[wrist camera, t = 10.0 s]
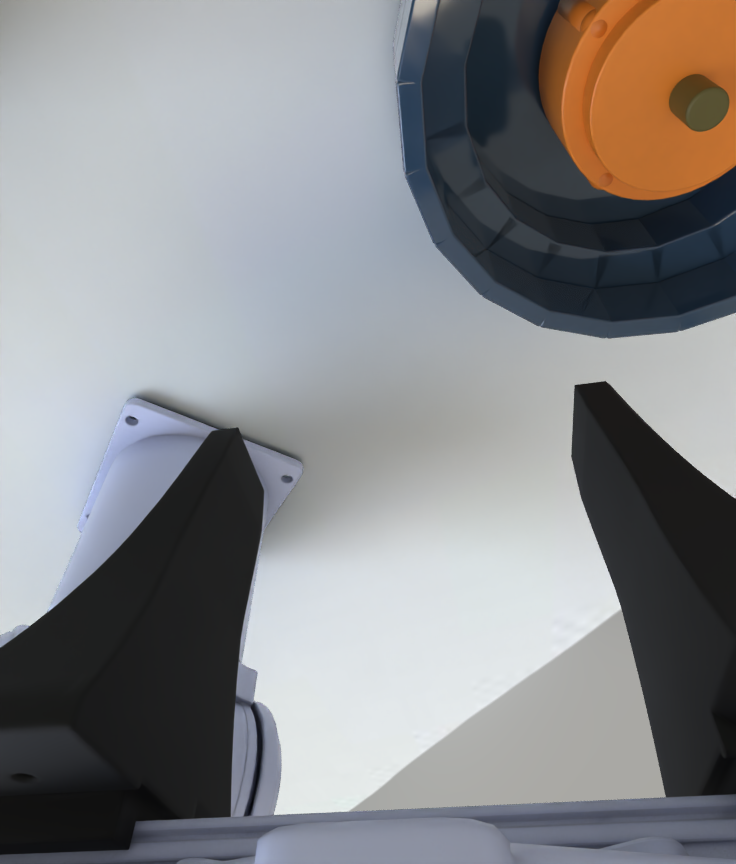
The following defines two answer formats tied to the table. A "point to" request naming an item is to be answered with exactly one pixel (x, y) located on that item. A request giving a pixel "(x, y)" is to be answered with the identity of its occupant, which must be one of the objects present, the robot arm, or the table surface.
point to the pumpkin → (643, 92)
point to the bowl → (543, 187)
